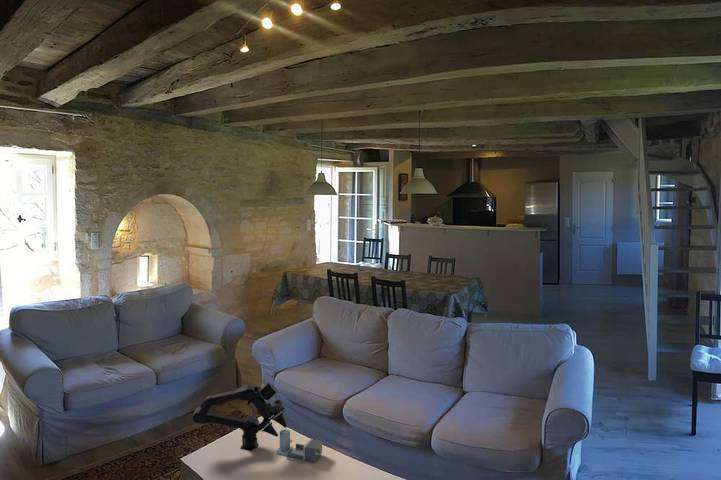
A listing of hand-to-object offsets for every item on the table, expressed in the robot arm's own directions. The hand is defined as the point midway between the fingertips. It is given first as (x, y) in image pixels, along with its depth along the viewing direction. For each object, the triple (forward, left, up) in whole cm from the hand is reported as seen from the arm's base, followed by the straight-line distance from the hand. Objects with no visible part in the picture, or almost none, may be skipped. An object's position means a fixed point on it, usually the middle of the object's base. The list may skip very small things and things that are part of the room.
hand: (282, 431), depth 237 cm
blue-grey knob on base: (+2, -1, -10) cm, 10 cm away
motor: (+13, -1, -9) cm, 16 cm away
